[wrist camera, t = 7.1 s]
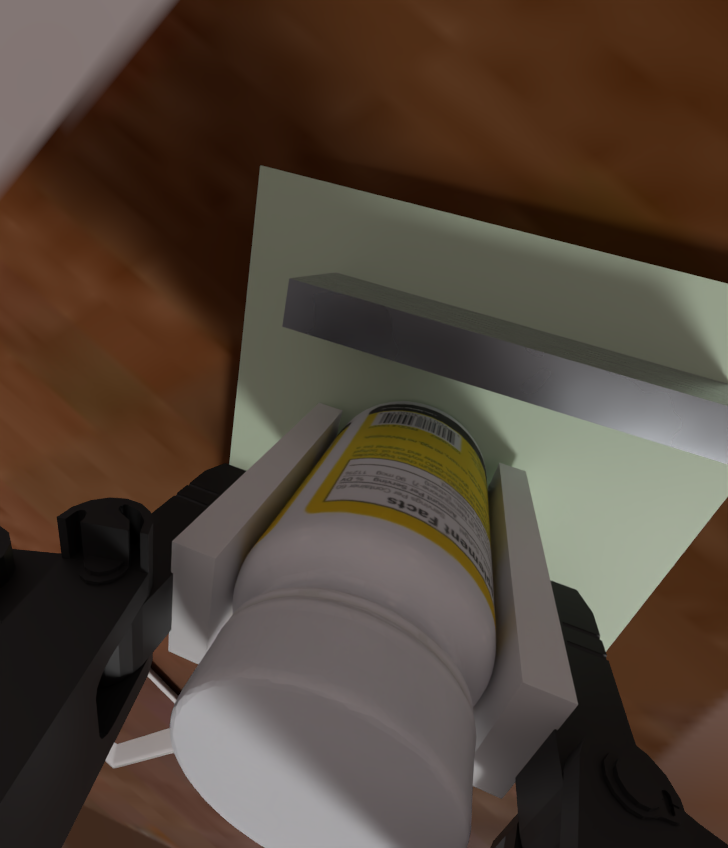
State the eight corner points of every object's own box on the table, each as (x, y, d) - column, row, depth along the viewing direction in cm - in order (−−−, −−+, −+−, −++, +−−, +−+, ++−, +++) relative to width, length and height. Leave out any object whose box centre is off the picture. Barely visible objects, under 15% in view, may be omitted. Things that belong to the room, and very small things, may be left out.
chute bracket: (282, 547, 15) (240, 610, 12) (335, 272, 11) (289, 278, 8) (548, 650, 14) (565, 746, 11) (730, 384, 9) (831, 436, 7)
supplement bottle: (378, 549, 14) (263, 891, 6) (307, 434, 13) (70, 685, 5) (514, 507, 12) (576, 926, 5) (444, 369, 11) (372, 614, 4)
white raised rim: (228, 721, 24) (174, 822, 20) (125, 751, 29) (65, 836, 25) (86, 576, 22) (-7, 653, 18) (3, 635, 27) (-85, 706, 23)
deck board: (239, 507, 16) (222, 524, 15) (280, 173, 11) (260, 165, 10) (584, 637, 15) (592, 667, 14) (822, 311, 9) (867, 318, 8)
